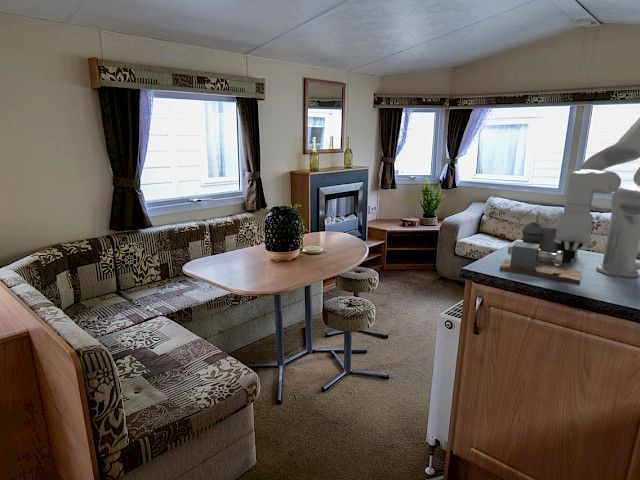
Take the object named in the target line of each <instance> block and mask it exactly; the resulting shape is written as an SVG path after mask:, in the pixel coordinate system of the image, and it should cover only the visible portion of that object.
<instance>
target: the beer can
mask: <svg viewBox="0 0 640 480" xmlns="http://www.w3.org/2000/svg"><path fill="white" fill-rule="evenodd" d="M574 243H575V242H570V241H569V247H570V251H571V249H572V247H573V245H574ZM558 251H563V257H562V263H561V265H563V266H568V265H571V264H572V261H573V259H572V260H571V262H570V261H566V259H567V258H564V257H565V251H566V249H565V248H564V247H563V246H562V245H561V244H559V245H558ZM569 257H570V256H569Z"/></svg>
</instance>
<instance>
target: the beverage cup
mask: <svg viewBox="0 0 640 480" xmlns="http://www.w3.org/2000/svg"><path fill="white" fill-rule="evenodd" d="M540 212H541V211H538V212H537V216H536V220H535V221H534V222H529V223H527V224H526V225H525V226H524V227H523V229H522V242H525V243H533V244H540V240H541V238H542V235H543V229H542V227H541V226H540V225H539V224H538V223H539V222H538V219H539V217H540V214H541V213H540Z"/></svg>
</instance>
